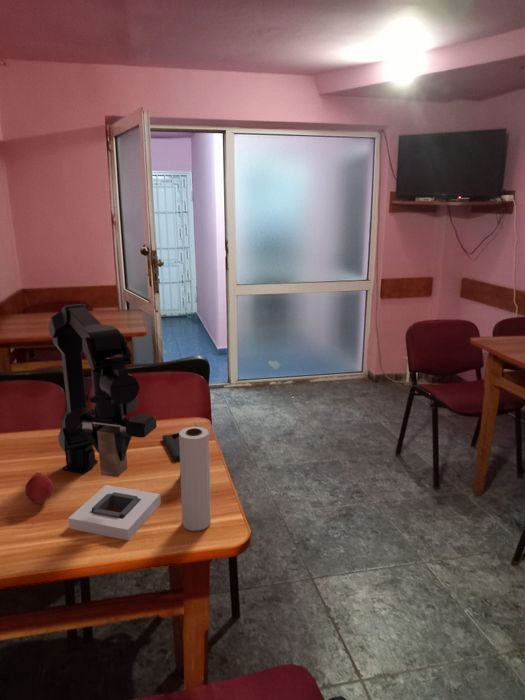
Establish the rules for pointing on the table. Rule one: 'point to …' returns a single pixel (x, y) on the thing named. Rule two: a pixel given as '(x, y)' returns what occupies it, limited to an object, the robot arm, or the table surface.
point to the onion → (39, 488)
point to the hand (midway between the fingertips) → (113, 458)
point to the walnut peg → (110, 452)
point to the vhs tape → (173, 445)
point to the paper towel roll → (195, 477)
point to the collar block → (112, 523)
